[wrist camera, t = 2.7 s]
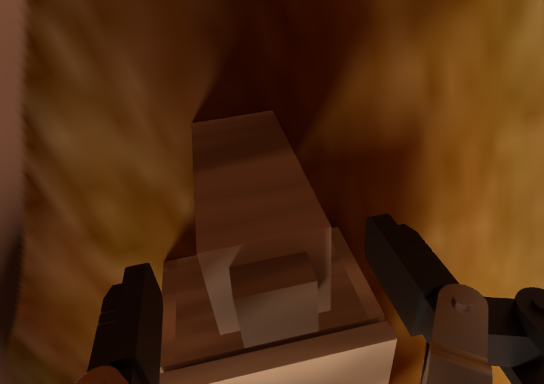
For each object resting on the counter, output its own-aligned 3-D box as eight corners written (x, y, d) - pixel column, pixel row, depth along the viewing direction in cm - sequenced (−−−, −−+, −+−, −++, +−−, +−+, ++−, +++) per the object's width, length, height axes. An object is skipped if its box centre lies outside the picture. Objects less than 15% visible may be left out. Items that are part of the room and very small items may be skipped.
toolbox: (163, 261, 22) (157, 367, 17) (338, 226, 23) (384, 315, 18) (216, 402, 33) (222, 496, 27) (334, 373, 34) (363, 457, 29)
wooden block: (191, 123, 18) (197, 286, 10) (272, 110, 18) (345, 255, 10) (207, 190, 20) (223, 367, 12) (278, 177, 21) (342, 339, 12)
